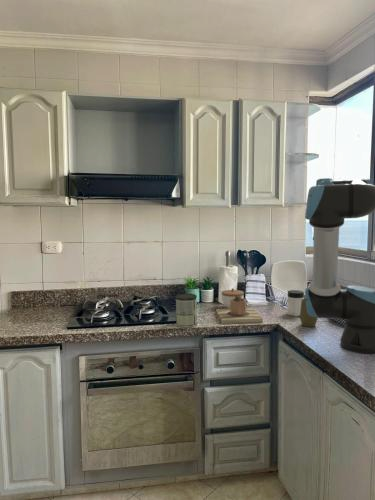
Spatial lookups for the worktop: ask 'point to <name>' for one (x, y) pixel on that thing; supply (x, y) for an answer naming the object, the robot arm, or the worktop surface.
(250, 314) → the post stand
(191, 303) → the coffee can
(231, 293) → the lidded bowl
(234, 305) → the copper sleeve
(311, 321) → the squeeze bottle
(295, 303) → the jar
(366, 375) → the worktop surface
